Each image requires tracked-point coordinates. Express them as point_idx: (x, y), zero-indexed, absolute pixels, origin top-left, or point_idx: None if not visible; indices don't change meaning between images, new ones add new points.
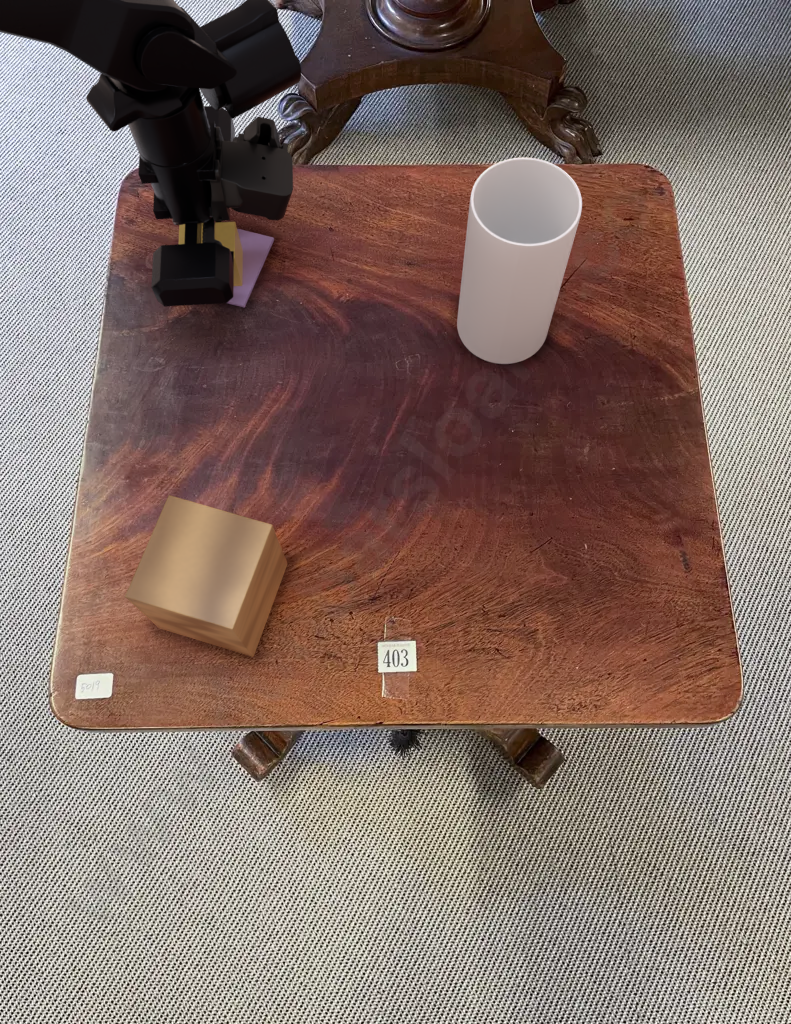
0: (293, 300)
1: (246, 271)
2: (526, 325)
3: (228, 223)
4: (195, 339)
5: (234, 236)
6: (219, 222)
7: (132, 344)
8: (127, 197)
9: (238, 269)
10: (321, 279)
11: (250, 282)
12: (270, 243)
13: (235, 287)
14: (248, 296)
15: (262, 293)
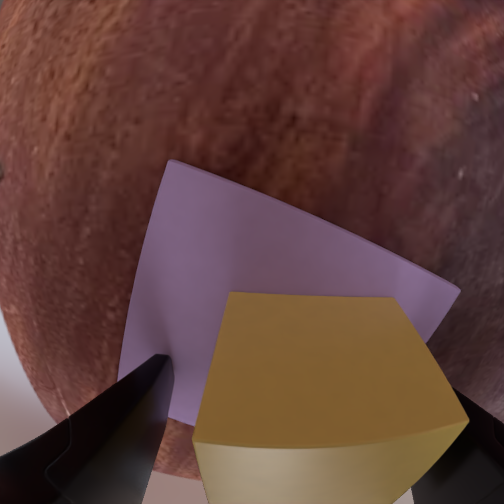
0: (465, 118)
1: (335, 281)
2: None
3: (207, 460)
4: (471, 384)
5: (326, 449)
6: (145, 400)
7: None
8: None
9: (420, 350)
10: (387, 2)
11: (389, 268)
12: (199, 174)
13: None
14: (437, 276)
15: (426, 224)
